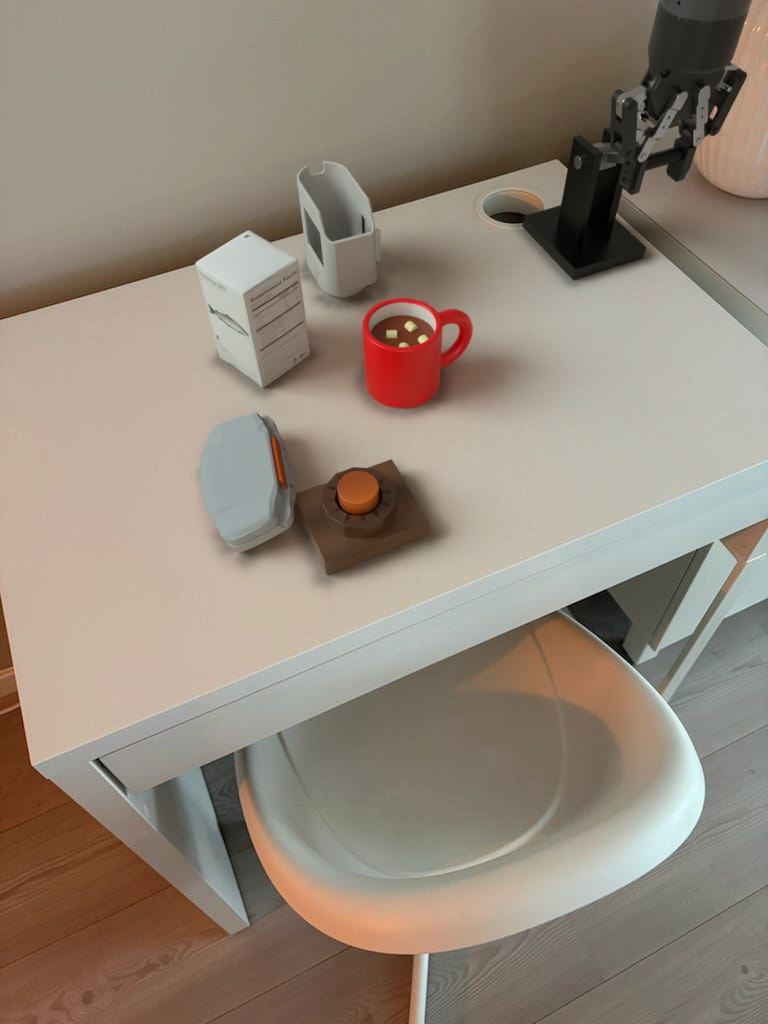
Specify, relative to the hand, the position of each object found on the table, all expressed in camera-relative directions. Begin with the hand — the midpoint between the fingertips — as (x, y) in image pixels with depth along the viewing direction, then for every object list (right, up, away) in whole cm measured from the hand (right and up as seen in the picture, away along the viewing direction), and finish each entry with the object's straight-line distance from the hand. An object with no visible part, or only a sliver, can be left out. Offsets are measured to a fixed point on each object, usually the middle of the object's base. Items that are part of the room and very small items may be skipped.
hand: (652, 183), depth 78 cm
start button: (-30, -33, -12) cm, 46 cm away
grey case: (-45, -32, -8) cm, 56 cm away
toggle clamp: (-3, -1, +15) cm, 15 cm away
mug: (-24, -20, +2) cm, 31 cm away
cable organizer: (-33, -7, +11) cm, 36 cm away
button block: (-30, -35, -9) cm, 47 cm away
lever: (-2, +3, +3) cm, 4 cm away
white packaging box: (-41, -17, +4) cm, 45 cm away
